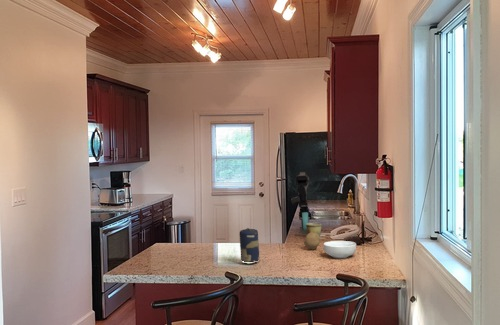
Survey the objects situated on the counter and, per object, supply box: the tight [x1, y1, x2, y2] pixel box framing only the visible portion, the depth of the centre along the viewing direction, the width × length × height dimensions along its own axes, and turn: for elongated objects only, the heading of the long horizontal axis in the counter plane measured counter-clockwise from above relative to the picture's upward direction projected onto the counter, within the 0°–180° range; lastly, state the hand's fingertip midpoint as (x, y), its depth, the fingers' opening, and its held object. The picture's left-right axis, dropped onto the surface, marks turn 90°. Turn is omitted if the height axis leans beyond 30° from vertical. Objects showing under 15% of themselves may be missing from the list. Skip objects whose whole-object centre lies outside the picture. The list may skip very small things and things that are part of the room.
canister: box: [239, 227, 260, 262], centre depth 222 cm, size 10×10×18 cm
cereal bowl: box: [323, 240, 357, 259], centre depth 224 cm, size 17×17×7 cm
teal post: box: [302, 212, 310, 230], centre depth 295 cm, size 4×4×14 cm
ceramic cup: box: [306, 222, 323, 239], centre depth 277 cm, size 13×10×10 cm
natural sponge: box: [303, 232, 321, 251], centre depth 245 cm, size 9×9×10 cm
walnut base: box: [294, 228, 308, 237], centre depth 295 cm, size 12×12×4 cm
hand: (303, 214), depth 308 cm, fingers open, 9 cm apart
